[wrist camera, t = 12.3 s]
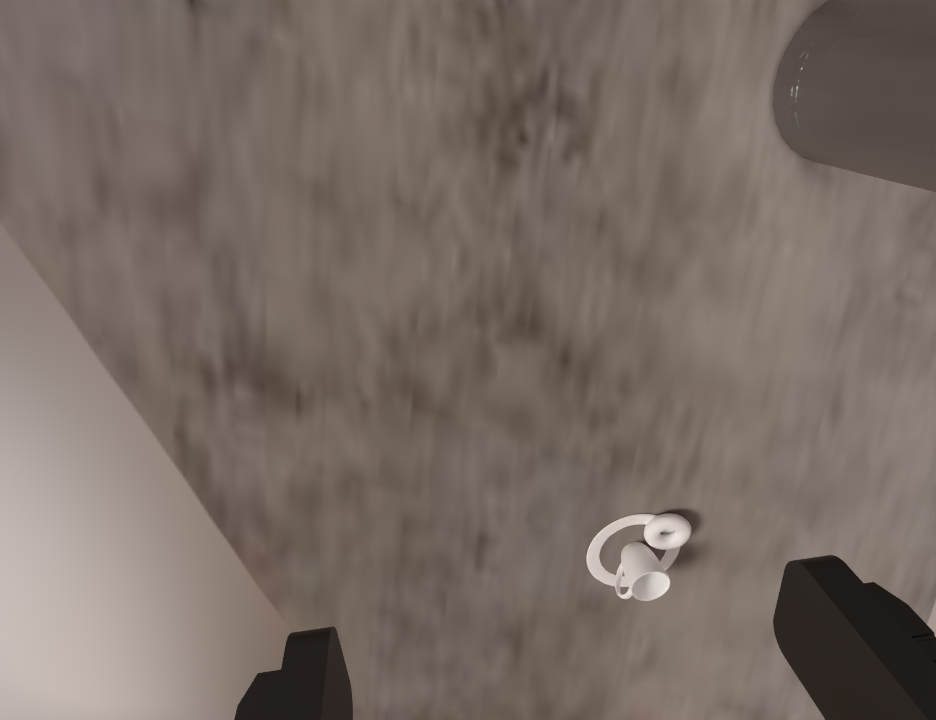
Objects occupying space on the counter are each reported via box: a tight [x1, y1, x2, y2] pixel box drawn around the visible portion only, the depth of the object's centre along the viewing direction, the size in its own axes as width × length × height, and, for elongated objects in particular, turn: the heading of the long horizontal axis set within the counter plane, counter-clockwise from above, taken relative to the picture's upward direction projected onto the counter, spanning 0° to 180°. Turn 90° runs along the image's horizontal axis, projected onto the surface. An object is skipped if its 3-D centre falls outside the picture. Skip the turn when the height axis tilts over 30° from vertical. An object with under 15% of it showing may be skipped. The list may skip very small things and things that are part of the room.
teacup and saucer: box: [587, 513, 691, 601], centre depth 48 cm, size 9×8×4 cm
